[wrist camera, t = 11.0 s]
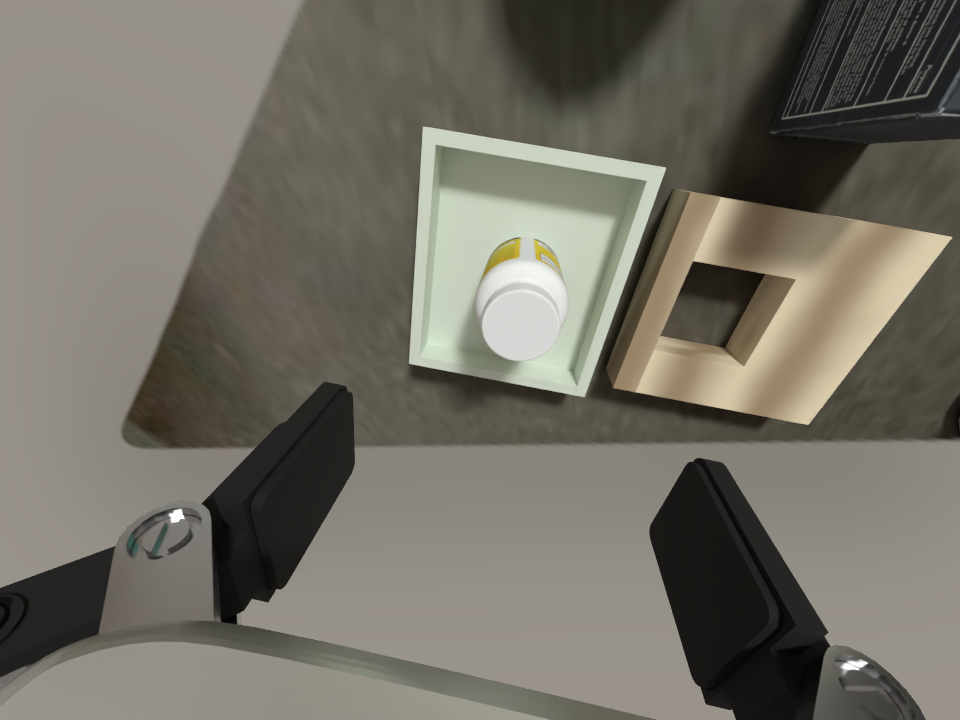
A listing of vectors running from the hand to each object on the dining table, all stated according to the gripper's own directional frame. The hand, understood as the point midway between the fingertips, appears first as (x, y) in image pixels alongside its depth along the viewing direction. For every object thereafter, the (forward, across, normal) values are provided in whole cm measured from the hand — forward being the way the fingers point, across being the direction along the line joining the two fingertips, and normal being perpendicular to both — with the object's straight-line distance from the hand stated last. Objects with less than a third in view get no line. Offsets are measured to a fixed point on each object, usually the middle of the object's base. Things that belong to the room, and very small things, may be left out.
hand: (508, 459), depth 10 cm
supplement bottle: (+19, 0, 0) cm, 19 cm away
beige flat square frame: (+20, -16, 0) cm, 26 cm away
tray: (+20, +1, 0) cm, 20 cm away
